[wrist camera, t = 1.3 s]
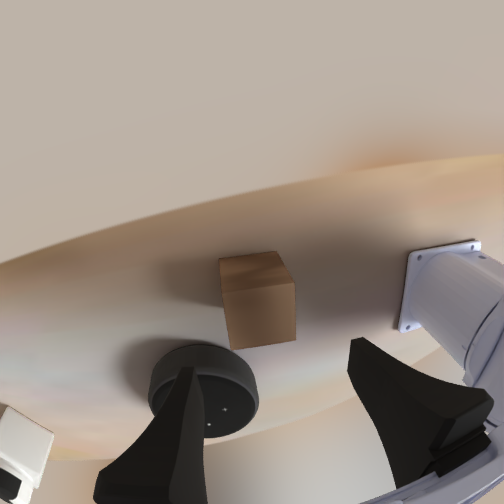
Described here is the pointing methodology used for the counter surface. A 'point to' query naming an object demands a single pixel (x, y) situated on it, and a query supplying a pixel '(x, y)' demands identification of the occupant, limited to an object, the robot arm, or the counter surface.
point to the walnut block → (257, 300)
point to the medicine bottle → (21, 456)
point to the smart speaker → (210, 386)
